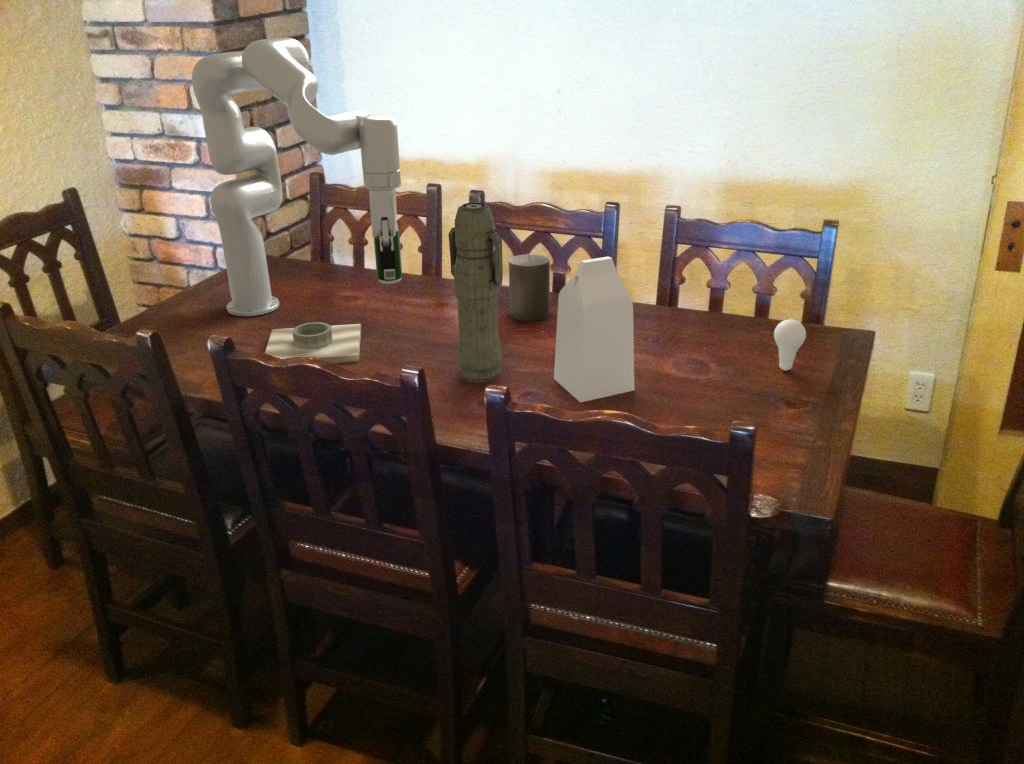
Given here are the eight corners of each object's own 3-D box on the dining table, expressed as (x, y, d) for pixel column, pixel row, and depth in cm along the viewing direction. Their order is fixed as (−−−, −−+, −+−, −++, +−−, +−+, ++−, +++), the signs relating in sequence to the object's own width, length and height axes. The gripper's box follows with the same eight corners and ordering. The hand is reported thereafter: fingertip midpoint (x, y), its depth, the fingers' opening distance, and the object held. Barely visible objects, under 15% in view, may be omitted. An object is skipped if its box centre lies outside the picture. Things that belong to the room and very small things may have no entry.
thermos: (466, 359, 184) (459, 197, 169) (515, 370, 179) (512, 203, 164) (443, 375, 177) (434, 207, 162) (493, 387, 172) (488, 214, 157)
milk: (580, 402, 166) (582, 273, 154) (553, 378, 175) (554, 255, 164) (634, 390, 170) (640, 263, 158) (605, 368, 179) (609, 247, 168)
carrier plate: (273, 335, 198) (270, 317, 196) (361, 329, 200) (359, 311, 198) (263, 368, 182) (259, 348, 180) (358, 361, 184) (356, 342, 182)
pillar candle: (550, 321, 203) (550, 260, 196) (508, 322, 203) (507, 260, 197) (549, 307, 212) (549, 248, 205) (509, 307, 212) (508, 248, 206)
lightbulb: (795, 379, 173) (803, 328, 168) (765, 372, 176) (771, 322, 171) (804, 367, 178) (811, 318, 173) (774, 361, 181) (780, 312, 176)
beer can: (405, 282, 183) (401, 227, 178) (380, 285, 182) (375, 230, 176) (399, 274, 188) (395, 220, 183) (374, 277, 186) (370, 223, 181)
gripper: (364, 170, 183) (371, 252, 191) (362, 189, 167) (370, 278, 175) (400, 169, 183) (405, 251, 191) (401, 188, 168) (407, 276, 176)
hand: (388, 263), depth 183 cm, fingers closed on beer can, 5 cm apart
